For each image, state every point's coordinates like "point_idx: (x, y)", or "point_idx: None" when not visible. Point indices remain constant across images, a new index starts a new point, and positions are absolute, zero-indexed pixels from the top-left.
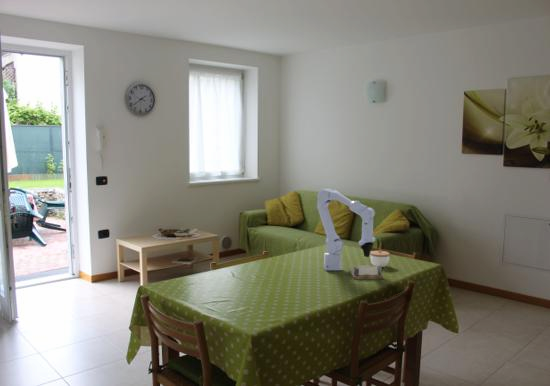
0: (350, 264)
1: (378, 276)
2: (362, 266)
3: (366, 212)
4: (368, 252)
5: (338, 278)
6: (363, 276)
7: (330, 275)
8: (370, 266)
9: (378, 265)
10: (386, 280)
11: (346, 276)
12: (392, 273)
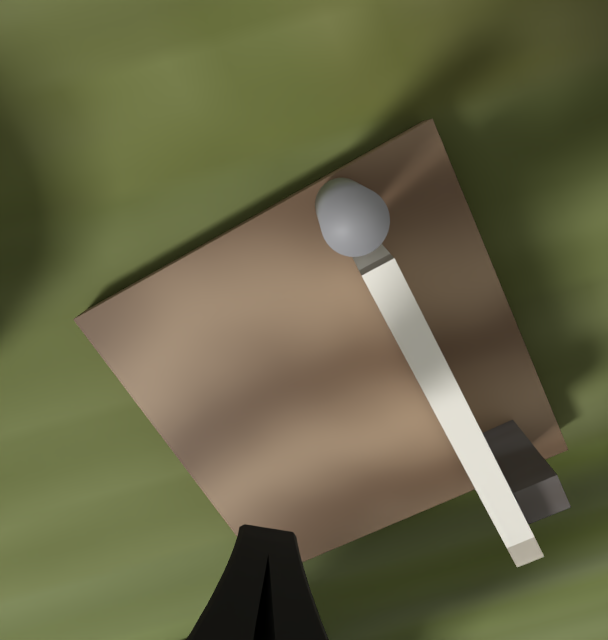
0: (4, 612)
1: (442, 191)
2: (497, 463)
3: None
4: (318, 617)
5: (572, 558)
6: (513, 365)
7: (493, 636)
8: (445, 360)
9: (361, 247)
10: (470, 58)
11: (473, 520)
12: (60, 70)
